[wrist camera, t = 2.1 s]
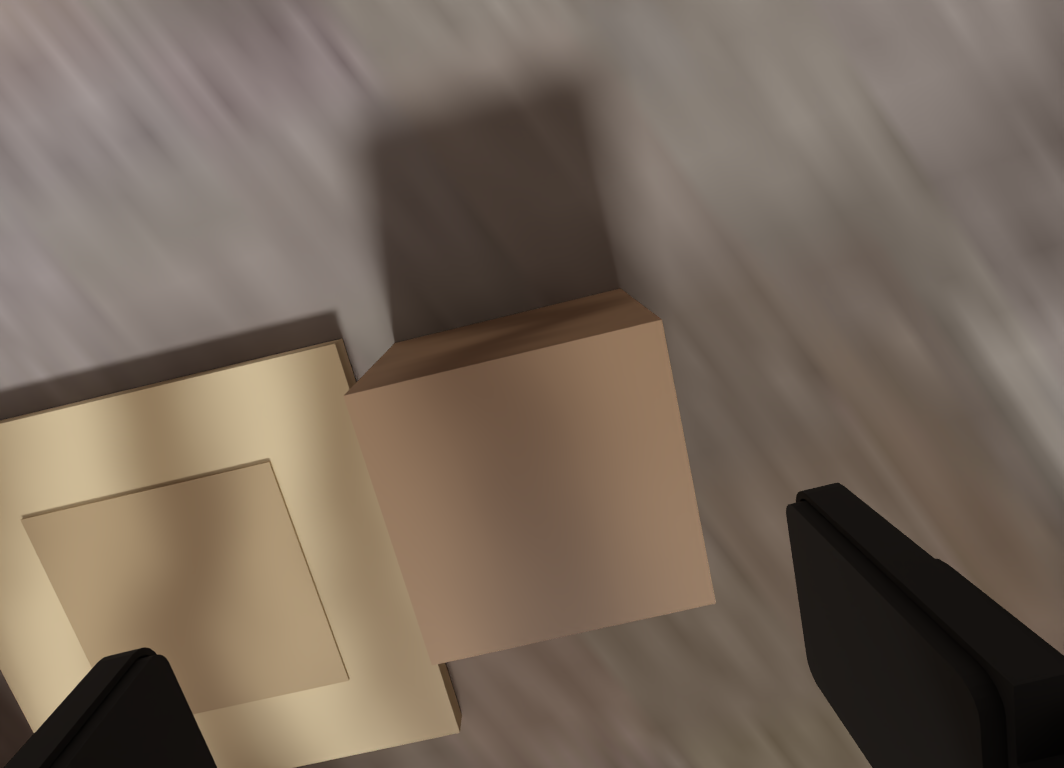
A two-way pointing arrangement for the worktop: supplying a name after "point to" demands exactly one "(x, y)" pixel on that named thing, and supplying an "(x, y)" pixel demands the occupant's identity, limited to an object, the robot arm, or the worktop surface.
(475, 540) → the block
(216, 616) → the board
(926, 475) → the worktop surface
